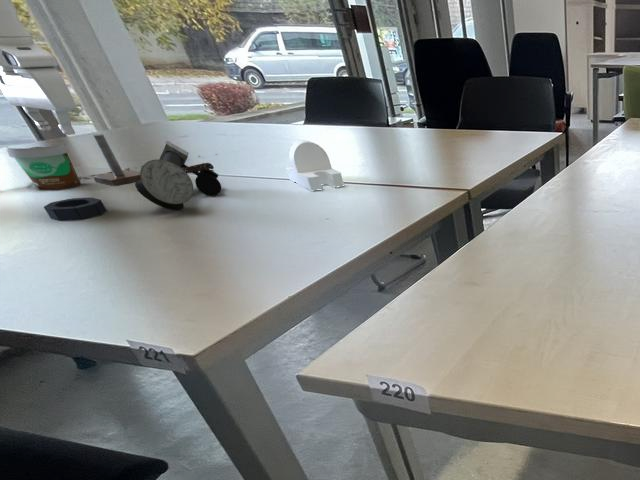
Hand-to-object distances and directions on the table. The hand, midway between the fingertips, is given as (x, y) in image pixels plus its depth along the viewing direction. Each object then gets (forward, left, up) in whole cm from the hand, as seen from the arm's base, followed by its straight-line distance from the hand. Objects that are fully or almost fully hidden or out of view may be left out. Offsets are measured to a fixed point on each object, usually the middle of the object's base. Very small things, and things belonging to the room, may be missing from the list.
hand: (57, 132), depth 114 cm
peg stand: (+20, +28, -17) cm, 38 cm away
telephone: (+16, -8, -17) cm, 24 cm away
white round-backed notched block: (+46, -21, -17) cm, 53 cm away
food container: (+7, +33, -17) cm, 38 cm away
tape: (-4, +2, -17) cm, 17 cm away
